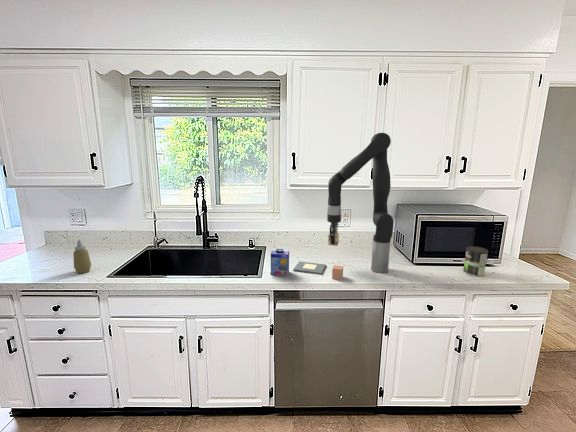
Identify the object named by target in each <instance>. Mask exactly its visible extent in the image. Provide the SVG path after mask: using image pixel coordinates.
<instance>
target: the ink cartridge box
mask: <svg viewBox="0 0 576 432" xmlns="http://www.w3.org/2000/svg"><path fill="white" fill-rule="evenodd" d="M289 273H290V251H287V250H284V249H283V248H282V249H281V248H276V250H271V251H270V275H273V276H289Z"/></svg>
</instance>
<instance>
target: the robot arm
mask: <svg viewBox="0 0 576 432" xmlns="http://www.w3.org/2000/svg"><path fill="white" fill-rule="evenodd" d="M391 143H392V140H391V136H390V135H389V134H388V133H386V132H378V133H375V134H374V135H373V136H372V137H371V138H370V143H369V144H368V145H367V146H366V147H365V148H364V149H363V150H362V151H361V152H359V154H357V155H356V156H354V157H353V158H352V159H350V160H349V161H348V162H347V163H346V164H345V165H344V166H343V167H342V168H341V169H340V170H339V171H337V172H336V173H335V174H334V175H332V176H331V178H329V180H328V182H327V183H328V185H327V188H328V198H327V209H326V210H327V212H326V213H327V215H326V217H327V218H326V220H327V221H326V222H328V223H330V225H329V233H330V238H331V244H335V234H336V233H339V232H338V230H339V229H338V228H339V223H340V222H341V221H342V195H341V194H342V185H344V184H345V183H346V182H347V181H349V180H350V179H351V178H353V176H355V175H356V174H357V173H358V172H359V171H360V170H361V169H363V168H364V166H365V165H366V164H368V162H370V161H372V175H371V176H372V179H371V180H372V181H371V182H372V197H373V210H372V211H373V213H372V222H373V225H375V233H374V234H373V239H372V249H371V250H372V252H371V266H370V270H371V271H372V272H374V273H377V272H378V273H379V274H385V273H389V266H390V265H389V264H390V250H391V240H392V238H393V233H394V232H393V231H394V223H395V222H394V218H393V216H392V215H391V214H389V212H388V211H389V210H388V199H389V196H390V192H391V183H392V182H391V173H390V167H389V164H388V149H389V147H390V146H391ZM332 234H333V235H332Z"/></svg>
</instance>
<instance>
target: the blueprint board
mask: <svg viewBox="0 0 576 432" xmlns="http://www.w3.org/2000/svg"><path fill="white" fill-rule="evenodd" d="M326 267H327V264H326V263H318V262H317V263H316V262H310V261H309V262H308V261H300V260H299V261H298V262H297V264H296V265H295V267H293V269H292V271H293V272H299V273H305V274H306V273H308V274H314V275H315V274H316V275H322V274H323V272H324V271H325V268H326Z"/></svg>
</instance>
